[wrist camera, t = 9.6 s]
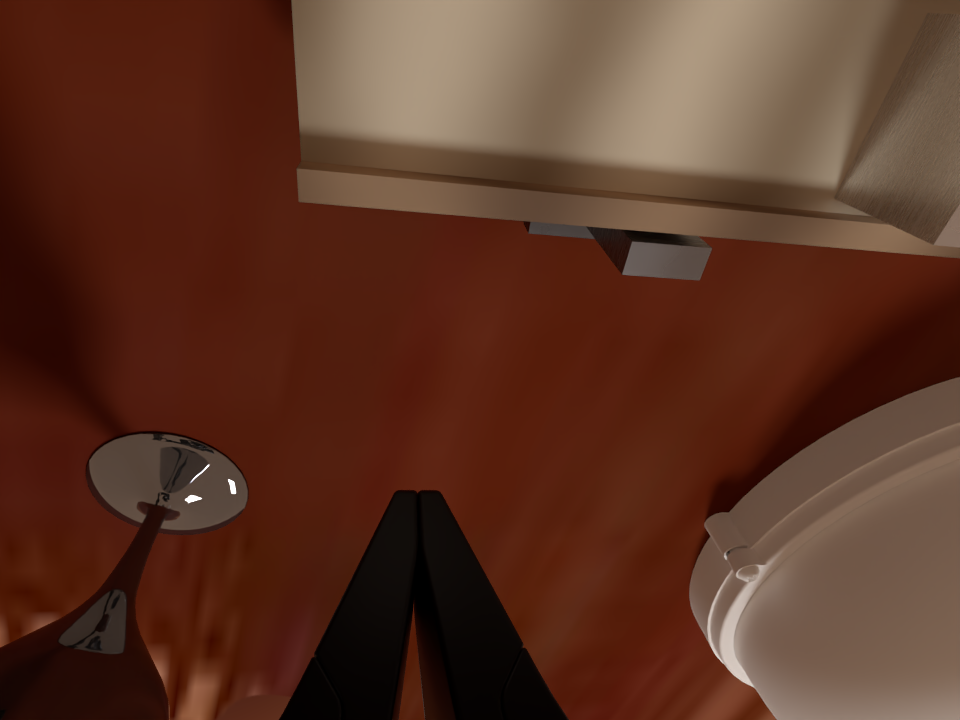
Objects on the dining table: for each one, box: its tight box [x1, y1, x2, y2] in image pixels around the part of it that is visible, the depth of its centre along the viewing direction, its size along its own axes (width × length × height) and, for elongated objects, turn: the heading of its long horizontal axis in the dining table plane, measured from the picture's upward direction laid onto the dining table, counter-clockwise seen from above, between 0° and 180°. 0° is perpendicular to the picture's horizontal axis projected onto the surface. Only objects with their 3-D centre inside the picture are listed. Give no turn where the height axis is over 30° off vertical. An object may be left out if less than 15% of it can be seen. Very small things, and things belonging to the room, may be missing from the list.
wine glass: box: [0, 433, 248, 720], centre depth 19 cm, size 8×8×15 cm
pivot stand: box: [524, 221, 712, 280], centre depth 15 cm, size 6×11×6 cm, turn 173°
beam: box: [291, 0, 960, 258], centre depth 14 cm, size 24×7×3 cm, turn 83°
